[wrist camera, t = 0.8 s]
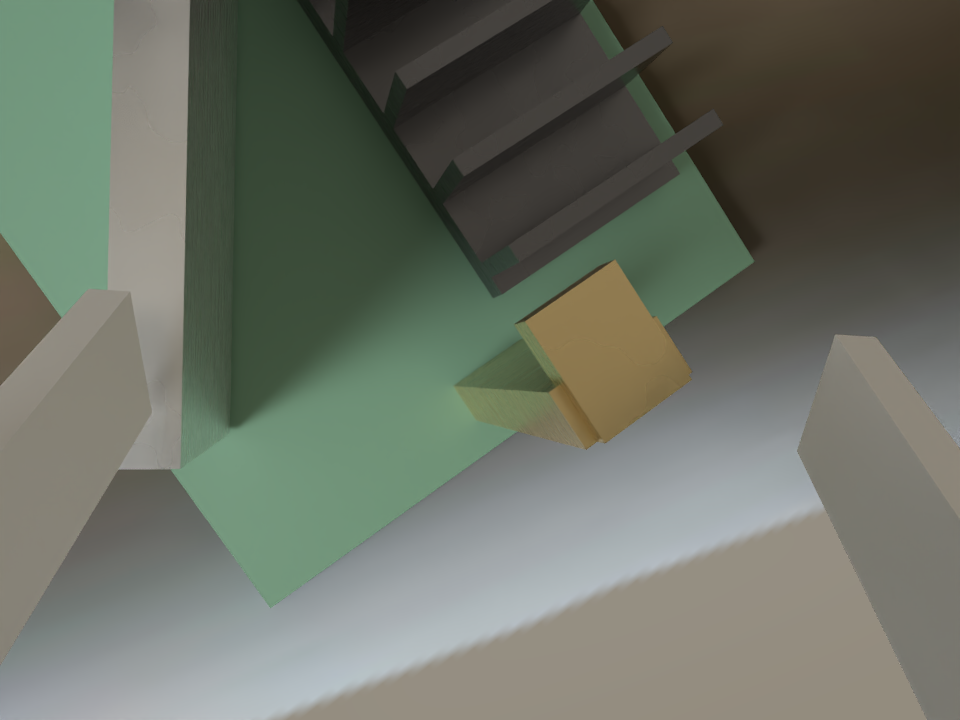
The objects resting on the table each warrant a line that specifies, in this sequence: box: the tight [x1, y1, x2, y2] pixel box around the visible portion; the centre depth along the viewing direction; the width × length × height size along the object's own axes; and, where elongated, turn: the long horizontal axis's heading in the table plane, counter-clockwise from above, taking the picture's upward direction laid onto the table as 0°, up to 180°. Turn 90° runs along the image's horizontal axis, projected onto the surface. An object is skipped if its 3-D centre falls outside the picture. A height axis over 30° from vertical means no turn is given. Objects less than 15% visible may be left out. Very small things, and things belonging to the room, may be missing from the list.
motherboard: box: [0, 0, 754, 608], centre depth 30 cm, size 22×22×2 cm
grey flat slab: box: [107, 0, 238, 469], centre depth 23 cm, size 15×2×11 cm, turn 179°
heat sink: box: [297, 0, 723, 450], centre depth 24 cm, size 19×11×13 cm, turn 34°
